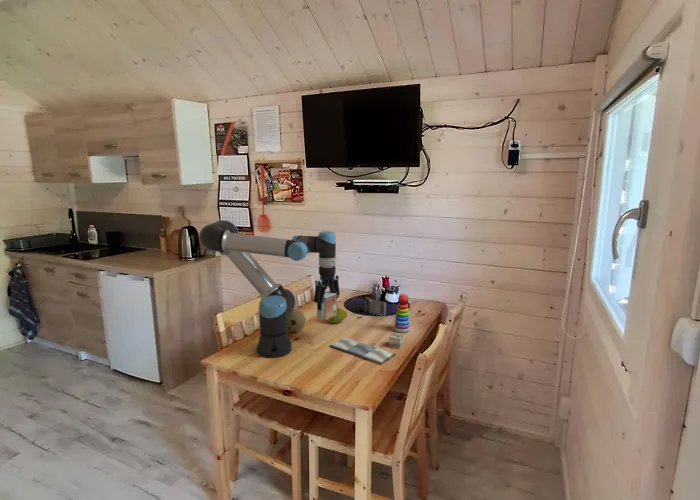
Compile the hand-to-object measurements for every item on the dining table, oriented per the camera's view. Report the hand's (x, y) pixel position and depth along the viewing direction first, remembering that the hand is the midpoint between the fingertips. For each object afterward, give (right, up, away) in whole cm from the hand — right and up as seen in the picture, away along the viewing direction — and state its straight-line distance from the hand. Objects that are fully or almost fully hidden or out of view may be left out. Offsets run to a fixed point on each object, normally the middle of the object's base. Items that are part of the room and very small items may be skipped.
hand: (327, 313), depth 192 cm
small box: (0, -2, 0) cm, 2 cm away
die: (+31, -14, -4) cm, 35 cm away
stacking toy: (+36, -11, +14) cm, 40 cm away
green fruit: (+4, -8, +24) cm, 25 cm away
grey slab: (+25, -6, +36) cm, 44 cm away
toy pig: (-17, -11, +12) cm, 23 cm away
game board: (+16, -15, -9) cm, 24 cm away
